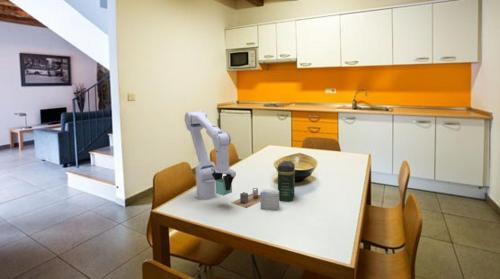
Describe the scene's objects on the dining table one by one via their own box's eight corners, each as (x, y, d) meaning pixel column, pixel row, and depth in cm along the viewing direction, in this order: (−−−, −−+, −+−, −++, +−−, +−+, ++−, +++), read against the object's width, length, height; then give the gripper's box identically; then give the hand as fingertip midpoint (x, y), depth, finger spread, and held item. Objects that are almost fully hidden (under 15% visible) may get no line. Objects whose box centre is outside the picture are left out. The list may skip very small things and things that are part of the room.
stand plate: (230, 204, 142) (230, 202, 141) (253, 194, 153) (253, 193, 153) (246, 209, 135) (246, 208, 135) (268, 199, 147) (268, 197, 146)
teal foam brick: (215, 193, 137) (215, 180, 136) (224, 189, 141) (223, 177, 140) (223, 195, 134) (223, 182, 133) (232, 192, 138) (231, 179, 136)
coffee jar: (293, 203, 140) (293, 165, 137) (276, 202, 142) (275, 164, 139) (295, 196, 149) (295, 160, 146) (280, 195, 151) (279, 159, 148)
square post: (240, 202, 141) (240, 193, 140) (244, 201, 143) (243, 192, 142) (244, 204, 139) (244, 195, 138) (248, 202, 141) (248, 193, 140)
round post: (251, 197, 147) (251, 189, 146) (255, 196, 149) (255, 187, 148) (255, 199, 145) (255, 190, 144) (259, 197, 147) (259, 188, 146)
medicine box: (279, 208, 136) (279, 189, 134) (277, 212, 132) (277, 193, 130) (262, 206, 138) (262, 188, 136) (260, 210, 134) (260, 192, 132)
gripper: (205, 159, 136) (206, 187, 139) (227, 164, 127) (228, 194, 129) (216, 156, 141) (218, 183, 144) (238, 160, 132) (239, 190, 134)
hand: (223, 188), depth 137 cm, fingers closed on teal foam brick, 5 cm apart
